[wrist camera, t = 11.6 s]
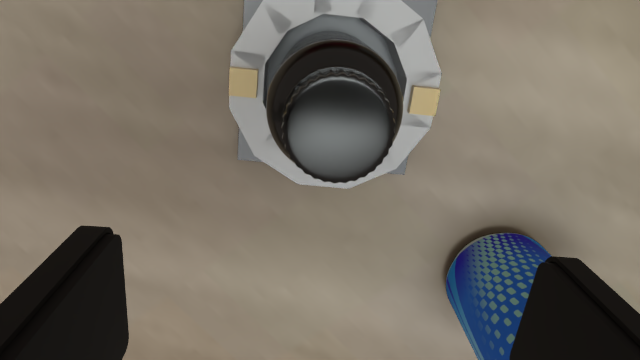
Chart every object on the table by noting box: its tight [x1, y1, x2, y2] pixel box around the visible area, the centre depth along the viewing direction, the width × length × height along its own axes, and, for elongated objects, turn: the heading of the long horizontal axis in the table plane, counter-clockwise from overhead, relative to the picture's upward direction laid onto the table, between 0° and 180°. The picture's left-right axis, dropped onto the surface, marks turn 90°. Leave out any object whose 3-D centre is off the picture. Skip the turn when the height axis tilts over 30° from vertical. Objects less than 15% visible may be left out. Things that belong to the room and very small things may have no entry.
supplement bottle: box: [266, 31, 403, 184], centre depth 24 cm, size 7×7×12 cm
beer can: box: [446, 233, 551, 360], centre depth 29 cm, size 8×8×16 cm
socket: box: [229, 0, 442, 189], centre depth 28 cm, size 12×12×5 cm
